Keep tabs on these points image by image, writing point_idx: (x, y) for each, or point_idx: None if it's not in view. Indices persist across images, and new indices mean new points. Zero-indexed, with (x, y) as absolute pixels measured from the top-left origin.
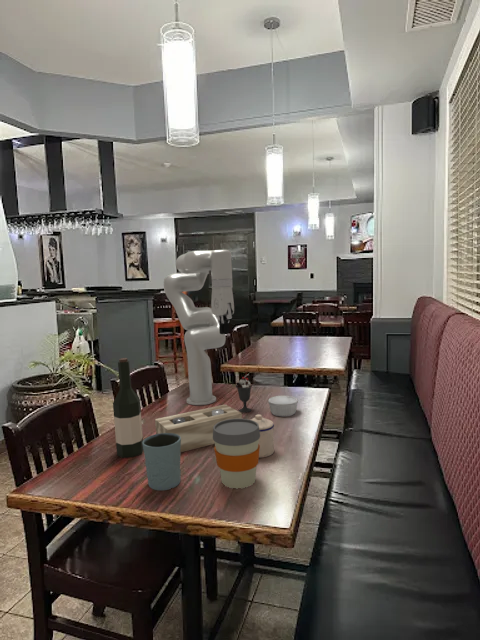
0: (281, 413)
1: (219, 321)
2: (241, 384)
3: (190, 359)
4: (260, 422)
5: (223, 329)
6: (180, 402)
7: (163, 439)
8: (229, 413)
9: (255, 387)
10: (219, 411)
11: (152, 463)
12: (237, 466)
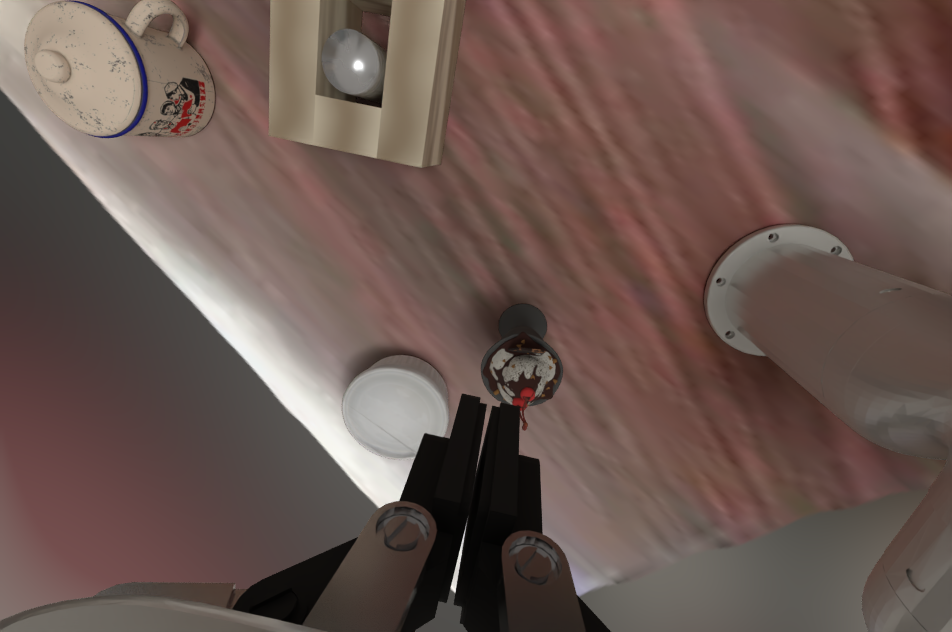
0: (375, 363)
1: (526, 558)
2: (515, 358)
3: None
4: (35, 51)
5: (442, 452)
6: (858, 214)
7: None
8: (301, 93)
9: (700, 530)
10: (338, 64)
11: None
12: None
